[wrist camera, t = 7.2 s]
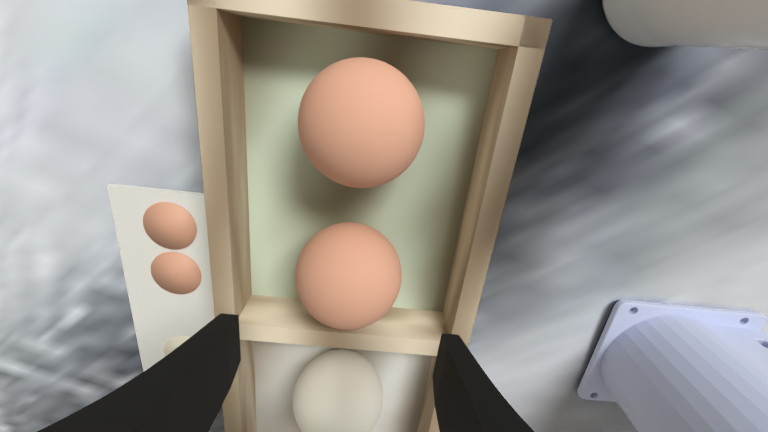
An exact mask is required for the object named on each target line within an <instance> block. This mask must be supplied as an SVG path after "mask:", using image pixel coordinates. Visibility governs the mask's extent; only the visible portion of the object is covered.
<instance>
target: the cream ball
mask: <svg viewBox="0 0 768 432" xmlns="http://www.w3.org/2000/svg"><path fill="white" fill-rule="evenodd" d="M382 403H383V390H382V384H381V380H380V377H379V375H378V373H377V371H376V369H375V368H374V366H373V365H372V364H371V363H370V362H369V361H368V360H367V359H366V358H365V357H364V356H362V355H361V354H359V353H357V352H354V351H351V350H347V349H334V350H329V351H326V352H324V353H321V354H320V355H318V356H316V357H315V358H313V359H312V360H311V361H310V362H309V363H308V364H307V365H306V366H305V367H304V369H303V370H302V372H301V373H300V375H299V377H298V379H297V381H296V384H295V387H294V392H293V413H294V417H295V420H296V422H297V425H298V427H299V429H300V430H301V432H371V431H372V429H373V428H374V426H375V424H376V423H377V421H378V418H379V416H380V413H381V409H382Z"/></svg>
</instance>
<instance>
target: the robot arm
mask: <svg viewBox="0 0 768 432" xmlns="http://www.w3.org/2000/svg"><path fill="white" fill-rule="evenodd" d="M631 308H633V309H631ZM630 309H631V310H630ZM767 321H768V318H767V317H766V316H765V315H763V314H762V313H759V312H751V311H740V310H729V309H719V308H708V307H697V306H687V305H676V304H665V303H655V302H644V301H633V300H620V301H618V302H617V303H616V304H615V305H614V307H613V309H612V312H611V314H610V316H609V318H608V321H607V323H606V325H605V328H604V330H603V332H602V334H601V337H600V339H599V341H598V344H597V346H596V348H595V350H594V353H593V355H592V357H591V360H590V362H589V364H588V366H587V369H586V371H585V373H584V376H583V378H582V380H581V382H580V385H579V387H578V389H577V394H578V395H579V397H580V398H581V399H584V400H595V401H607V402H617V403H618V404H619V406H620V407H621V408H622V410H623V411H624V413H625V414H626V416H627V417H628V419H629V420H630V421H631V423H632V424H633V426H634V427H635V429H636V430H637V431H638V432H768V335H767V334H766V333H764V332H763V331H762V330H763V328H764V327H765V325H766V324H767ZM240 361H241V351H240V333H239V315H235V314H224V313H221V314H219V315H218V316H217V317H215V318H214V319H213V320H212V321H210V322H209V323H208V324H207V325H205V326H204V327H203V328H202V329H200V330H199V331H198V332H197V333H195V334H194V335H193V336H191V337H190V338H189V339H188V340H186V341H185V342H184V343H182V344H181V345H180V346H179V347H177V348H176V349H175V350H173V351H172V352H171V353H169V354H168V355H167V356H165V357H164V358H163V359H161V360H160V361H158V362H157V363H156V364H154V365H153V366H151V367H150V368H148V369H147V370H146V371H144V372H143V373H141V374H140V375H138V376H137V377H135V378H134V379H132V380H131V381H129V382H127V383H126V384H124V385H123V386H121V387H119V388H118V389H116V390H114V391H113V392H111V393H109V394H108V395H106V396H104V397H103V398H101V399H99V400H97V401H95V402H94V403H92V404H90V405H88V406H86V407H84V408H82V409H81V410H79V411H77V412H75V413H73V414H71V415H69V416H68V417H66V418H64V419H62V420H60V421H58V422H56V423H54V424H52V425H50V426H48V427H46V428H44V429H42V430H40V431H37V432H208V431H209V429H210V427H211V425H212V423H213V421H214V420H215V418H216V416H217V414H218V412H219V410H220V408H221V406H222V404H223V402H224V400H225V398H226V396H227V394H228V392H229V390H230V388H231V385H232V383H233V380H234V378H235V375H236V372H237V369H238V367H239V364H240ZM432 378H433V392H434V403H435V409H436V415H437V420H438V425H439V430H440V432H534V431H533V430H532V429H531V428H530V427H529V425H528V424H527V423H526V422H525V421H524V420H523V419H522V418H521V417H520V416H519V415H518V414H517V413H516V411H515V410H514V409H513V408H512V407H511V406H510V404H509V403H508V402H507V401H506V400H505V398H504V397H503V396H502V395H501V393H500V392H499V391H498V390H497V388H496V387H495V386H494V384H493V383H492V382H491V380H490V379H489V378H488V376H487V375H486V374H485V372H484V371H483V370H482V368H481V367H480V365H479V364H478V362H477V361H476V360H475V358H474V357H473V355H472V354H471V352H470V351H469V349H468V348H467V346H466V345H465V343H464V342H463V340H462V339H461V337H460V336H459V335H456V334H445V333H442V334H441V339H440V344H439V348H438V353H437V357H436V362H435V366H434V371H433V376H432Z"/></svg>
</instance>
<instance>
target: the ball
mask: <svg viewBox="0 0 768 432" xmlns="http://www.w3.org/2000/svg"><path fill="white" fill-rule="evenodd" d="M424 130H425V117H424V111H423V107H422V103H421V100H420V98H419V95H418V93H417V91H416V90H415V88H414V86H413V85H412V83H411V82H410V81H409V80H408V79H407V77H406V76H405V75H403V74H402V73H401V72H400V71H399V70H397V69H396V68H395V67H393V66H391V65H389V64H387V63H386V62H383V61H380V60H377V59H373V58H366V57H355V58H348V59H344V60H341V61H338V62H336V63H333V64H332V65H330V66H328V67H326V68H325V69H324V70H322V71H321V72H320V73H319V74H318V75H317V76H316V77H315V78H314V79H313V80H312V81H311V83H310V84H309V85H308V87H307V89H306V91H305V92H304V94H303V97H302V100H301V103H300V107H299V112H298V131H299V137H300V141H301V144H302V147H303V149H304V151H305V153H306V155H307V156H308V158H309V160H310V161H311V162H312V164H313V165H314V166H315V167H316V168H317V169H318V170H319V171H320V172H321V173H322V174H324V175H325V176H326V177H328V178H329V179H331V180H333V181H335V182H337V183H339V184H342V185H345V186H349V187H355V188H370V187H376V186H380V185H383V184H386V183H388V182H390V181H392V180H394V179H395V178H397V177H398V176H400V175H401V174H402V173H403V172H404V171H405V170H406V169H407V168H408V167H409V166H410V165H411V163H412V162H413V161H414V159H415V158H416V156H417V154H418V152H419V150H420V147H421V144H422V141H423V137H424Z"/></svg>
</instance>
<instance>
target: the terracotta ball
mask: <svg viewBox="0 0 768 432" xmlns="http://www.w3.org/2000/svg"><path fill="white" fill-rule="evenodd" d="M401 280H402V270H401V264H400V260H399V257H398V254H397V252H396V250H395V248H394V247H393V245H392V244H391V242H390V241H389V240H388V239H387V238H386V237H385V236H384V235H383V234H382V233H380V232H379V231H378V230H376V229H374V228H372V227H370V226H368V225H365V224H361V223H355V222H344V223H338V224H334V225H331V226H328V227H326V228H324V229H322V230H321V231H319V232H318V233H316V234H315V235H314V236H313V237H312V238H311V239H310V240H309V241H308V242H307V243H306V245H305V246H304V248H303V249H302V251H301V253H300V255H299V258H298V261H297V265H296V270H295V284H296V289H297V293H298V296H299V299H300V300H301V302H302V304H303V306H304V307H305V309H306V310H307V311H308V312H309V313H310V315H311V316H313V317H314V318H315V319H316V320H317V321H319V322H321V323H322V324H324V325H326V326H329V327H332V328H336V329H342V330H354V329H360V328H363V327H366V326H369V325H371V324H373V323H374V322H376V321H378V320H379V319H381V318H382V317H383V316H384V315H385V314H386V313H387V312H388V311H389V310H390V308H391V307H392V306H393V304H394V302H395V300H396V299H397V296H398V294H399V290H400V286H401Z"/></svg>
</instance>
